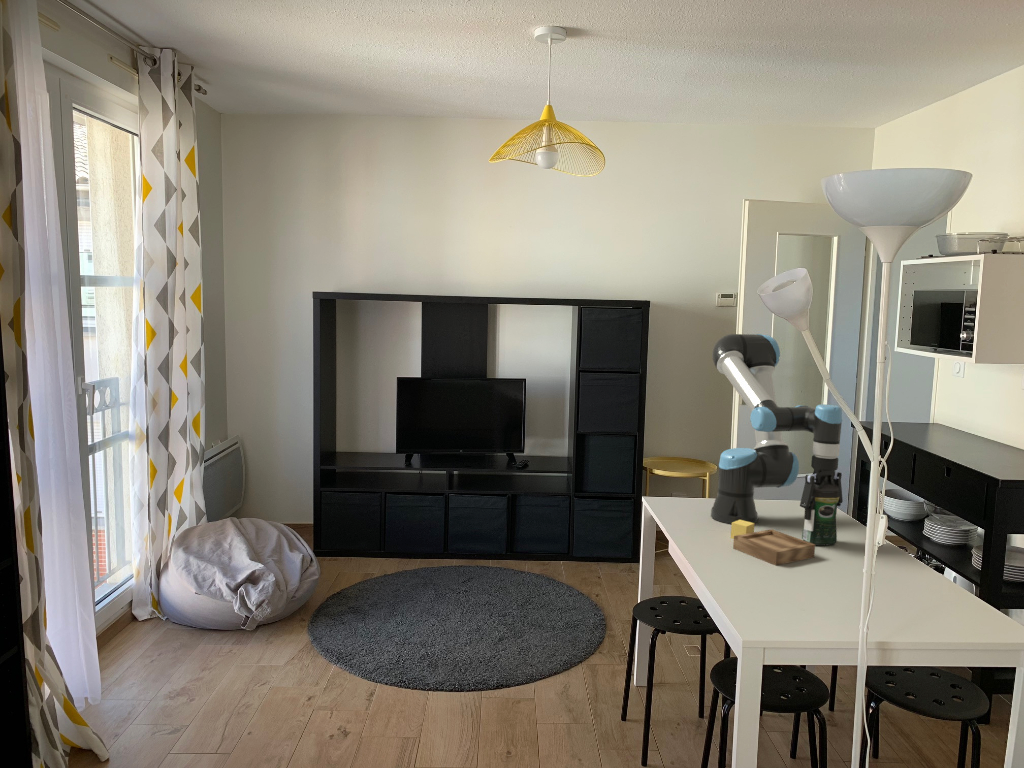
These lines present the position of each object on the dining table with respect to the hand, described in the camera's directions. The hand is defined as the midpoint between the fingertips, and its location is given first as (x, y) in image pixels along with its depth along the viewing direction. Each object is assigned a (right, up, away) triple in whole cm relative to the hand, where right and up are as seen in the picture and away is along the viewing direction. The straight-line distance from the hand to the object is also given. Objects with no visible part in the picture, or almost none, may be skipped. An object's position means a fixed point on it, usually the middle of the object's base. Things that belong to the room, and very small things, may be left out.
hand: (819, 527), depth 242 cm
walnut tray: (-18, -5, -11) cm, 22 cm away
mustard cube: (-23, -4, +2) cm, 24 cm away
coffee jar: (0, -5, +1) cm, 5 cm away
